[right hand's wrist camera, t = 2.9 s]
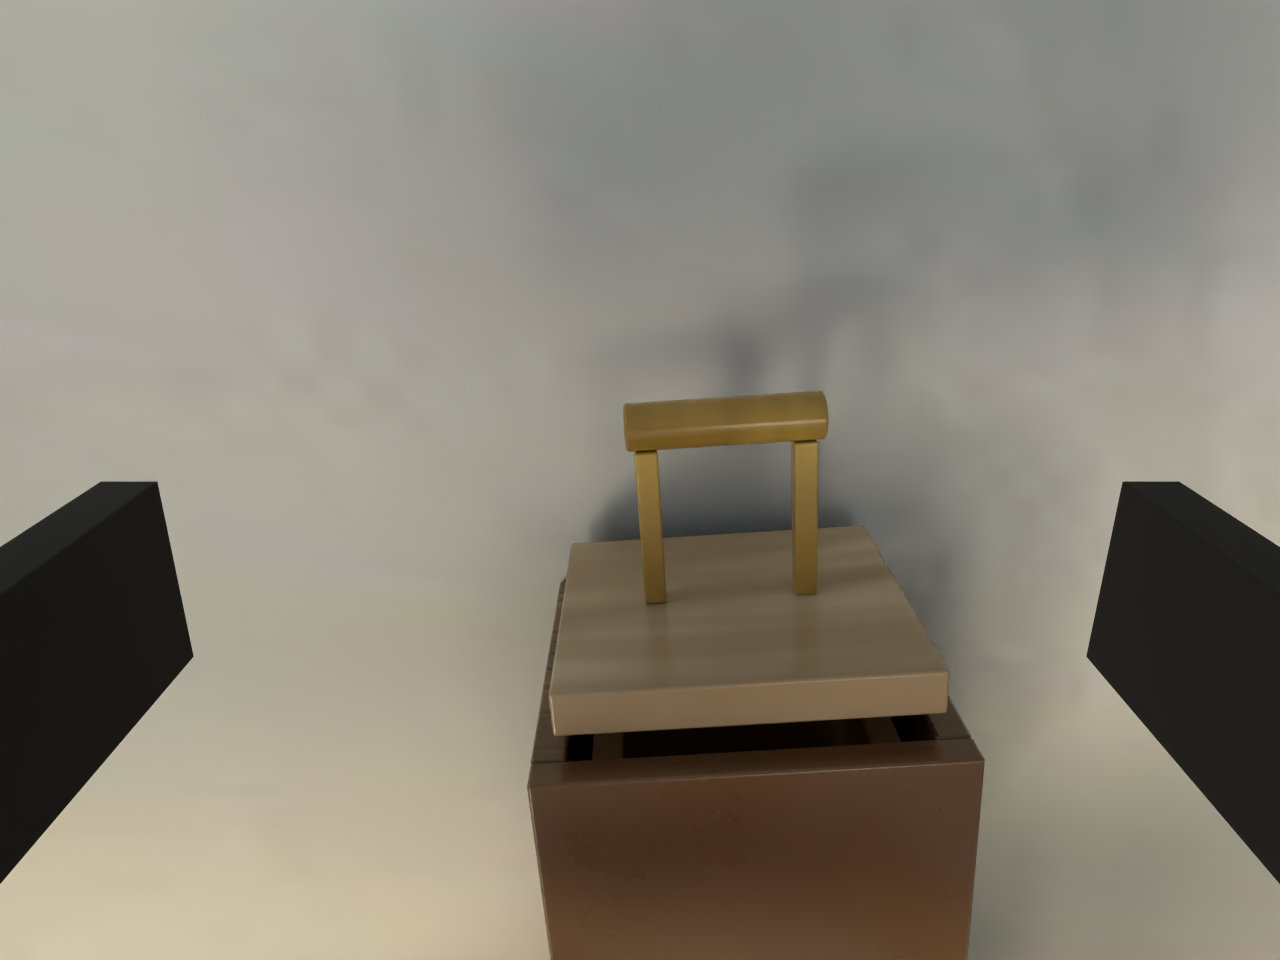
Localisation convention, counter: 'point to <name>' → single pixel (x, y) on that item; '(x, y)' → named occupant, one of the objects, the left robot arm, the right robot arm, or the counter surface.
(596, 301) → the counter surface
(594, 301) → the counter surface
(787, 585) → the drawer
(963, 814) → the cabinet
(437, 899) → the counter surface
